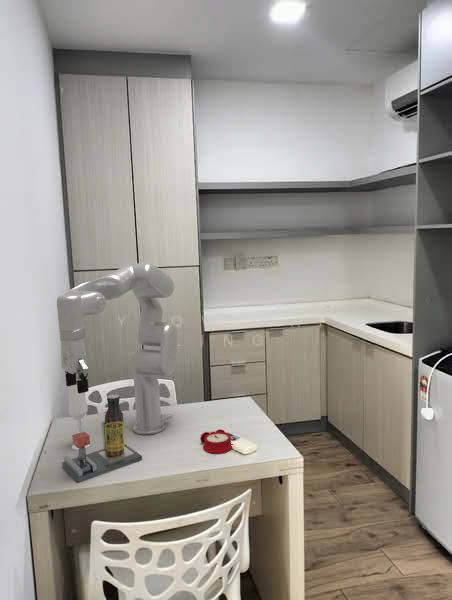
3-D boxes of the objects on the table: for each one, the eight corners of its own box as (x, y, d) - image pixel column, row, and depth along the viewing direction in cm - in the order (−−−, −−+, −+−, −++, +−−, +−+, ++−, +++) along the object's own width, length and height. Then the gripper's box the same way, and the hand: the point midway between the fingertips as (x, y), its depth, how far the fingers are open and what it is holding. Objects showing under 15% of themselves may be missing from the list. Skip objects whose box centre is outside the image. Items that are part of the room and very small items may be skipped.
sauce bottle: (106, 458, 155) (101, 400, 153) (105, 450, 161) (101, 394, 159) (126, 455, 157) (122, 398, 154) (125, 447, 163) (121, 392, 160)
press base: (123, 446, 168) (121, 415, 167) (142, 460, 157) (139, 427, 156) (62, 466, 155) (59, 433, 153) (78, 482, 144) (75, 447, 142)
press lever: (86, 464, 152) (84, 431, 151) (92, 469, 148) (90, 435, 147) (74, 468, 150) (71, 434, 148) (80, 473, 146) (77, 439, 144)
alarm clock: (209, 448, 157) (196, 423, 170) (208, 463, 159) (195, 437, 172) (237, 442, 160) (223, 418, 173) (237, 457, 162) (222, 432, 175)
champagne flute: (89, 440, 175) (84, 377, 172) (91, 447, 169) (86, 382, 166) (70, 443, 173) (65, 380, 170) (72, 450, 167) (66, 385, 164)
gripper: (51, 333, 148) (55, 385, 150) (70, 340, 134) (75, 398, 137) (74, 329, 153) (78, 380, 155) (95, 336, 139) (100, 392, 141)
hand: (77, 388), depth 146 cm, fingers open, 9 cm apart
